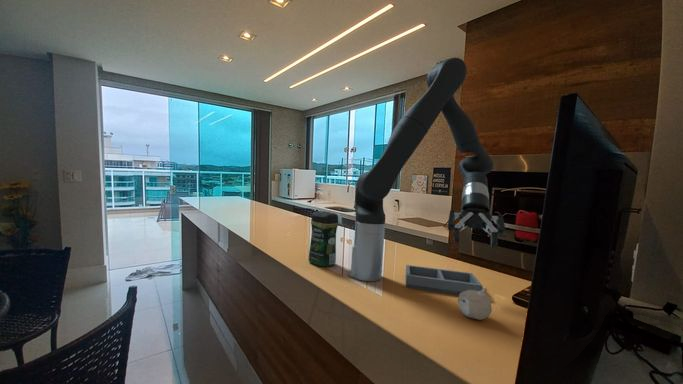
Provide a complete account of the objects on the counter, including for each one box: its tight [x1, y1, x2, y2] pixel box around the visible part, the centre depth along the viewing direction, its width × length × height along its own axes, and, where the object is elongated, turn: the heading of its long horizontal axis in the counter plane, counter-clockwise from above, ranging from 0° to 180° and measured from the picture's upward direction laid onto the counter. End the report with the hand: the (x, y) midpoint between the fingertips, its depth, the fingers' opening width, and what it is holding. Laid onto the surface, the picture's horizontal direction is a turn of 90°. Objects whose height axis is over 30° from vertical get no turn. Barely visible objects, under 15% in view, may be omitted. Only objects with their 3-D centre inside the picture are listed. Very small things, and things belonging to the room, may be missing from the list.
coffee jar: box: [308, 210, 339, 268], centre depth 94 cm, size 10×8×19 cm
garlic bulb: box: [457, 287, 493, 321], centre depth 60 cm, size 7×6×8 cm
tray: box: [405, 264, 483, 296], centre depth 79 cm, size 20×11×4 cm, turn 76°
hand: (475, 244), depth 71 cm, fingers open, 8 cm apart
